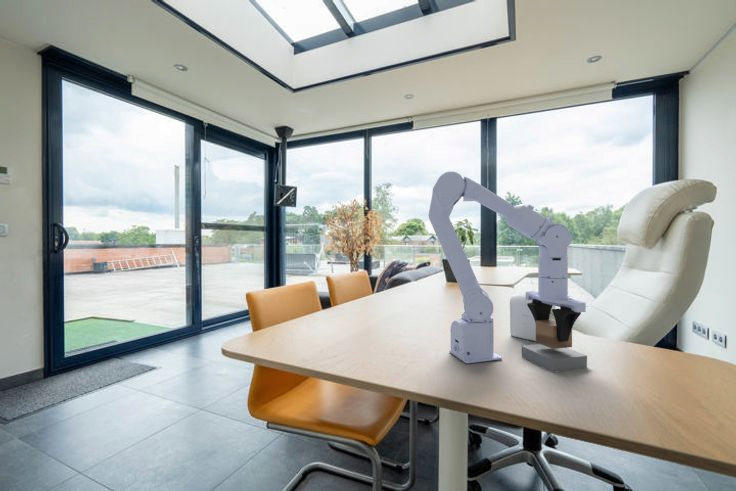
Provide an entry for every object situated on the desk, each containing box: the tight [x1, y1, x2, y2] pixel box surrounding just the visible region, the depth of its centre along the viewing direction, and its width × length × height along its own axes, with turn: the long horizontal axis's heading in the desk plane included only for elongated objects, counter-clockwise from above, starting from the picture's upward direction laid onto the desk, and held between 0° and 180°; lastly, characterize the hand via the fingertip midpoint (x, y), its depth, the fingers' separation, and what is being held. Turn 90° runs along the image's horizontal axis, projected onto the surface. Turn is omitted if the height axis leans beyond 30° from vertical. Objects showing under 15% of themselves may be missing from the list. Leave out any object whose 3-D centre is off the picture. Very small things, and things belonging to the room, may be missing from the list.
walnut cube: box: [535, 318, 573, 349], centre depth 71 cm, size 5×5×5 cm
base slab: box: [521, 343, 588, 373], centre depth 71 cm, size 9×9×3 cm
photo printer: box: [509, 293, 551, 342], centre depth 87 cm, size 10×4×12 cm, turn 39°
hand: (552, 337), depth 71 cm, fingers closed on walnut cube, 5 cm apart
